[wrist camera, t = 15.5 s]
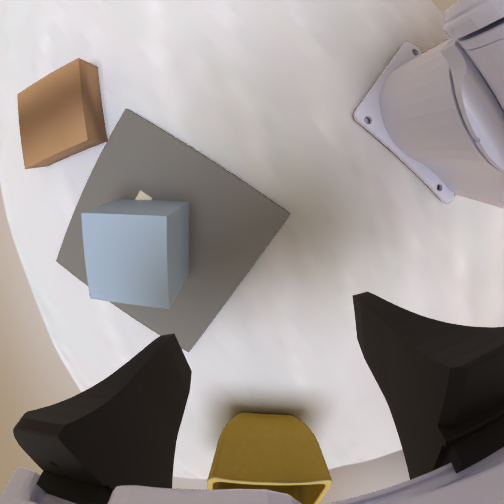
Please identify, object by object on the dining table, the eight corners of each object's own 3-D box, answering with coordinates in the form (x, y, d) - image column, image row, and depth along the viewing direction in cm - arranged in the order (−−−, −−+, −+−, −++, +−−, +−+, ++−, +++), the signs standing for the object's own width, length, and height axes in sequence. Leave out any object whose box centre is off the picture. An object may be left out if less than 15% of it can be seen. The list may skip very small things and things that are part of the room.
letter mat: (289, 213, 19) (290, 214, 19) (189, 349, 23) (188, 352, 22) (128, 109, 17) (125, 108, 17) (58, 259, 21) (56, 261, 20)
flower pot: (319, 400, 24) (335, 482, 16) (300, 452, 27) (306, 521, 18) (220, 394, 24) (206, 478, 16) (217, 447, 27) (208, 517, 18)
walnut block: (109, 141, 18) (87, 140, 16) (49, 166, 19) (25, 169, 16) (99, 67, 17) (78, 58, 14) (40, 98, 17) (17, 94, 14)
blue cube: (189, 201, 19) (166, 216, 14) (189, 274, 20) (169, 309, 16) (119, 199, 19) (81, 213, 14) (123, 268, 20) (90, 298, 16)
